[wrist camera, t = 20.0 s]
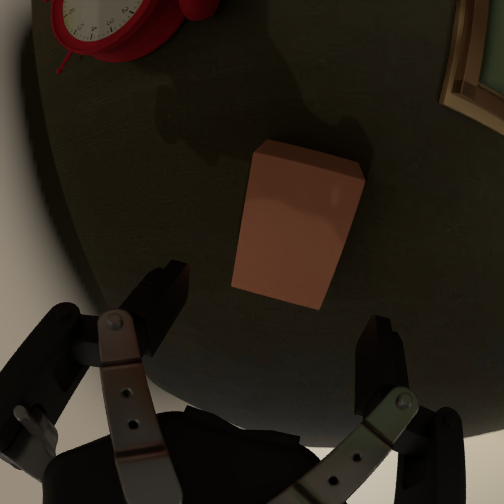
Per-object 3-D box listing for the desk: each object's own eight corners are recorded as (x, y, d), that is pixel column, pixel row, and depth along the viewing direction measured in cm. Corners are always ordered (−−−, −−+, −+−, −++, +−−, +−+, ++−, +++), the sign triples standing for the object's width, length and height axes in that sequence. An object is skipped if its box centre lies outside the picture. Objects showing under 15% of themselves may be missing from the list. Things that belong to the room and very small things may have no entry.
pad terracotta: (267, 138, 19) (253, 151, 16) (358, 162, 18) (366, 180, 15) (245, 255, 24) (230, 286, 20) (322, 276, 23) (319, 310, 20)
